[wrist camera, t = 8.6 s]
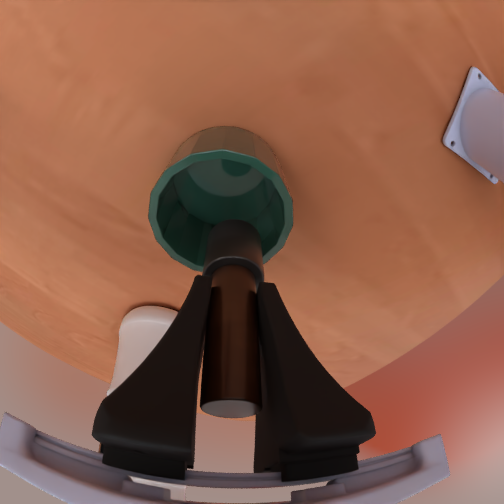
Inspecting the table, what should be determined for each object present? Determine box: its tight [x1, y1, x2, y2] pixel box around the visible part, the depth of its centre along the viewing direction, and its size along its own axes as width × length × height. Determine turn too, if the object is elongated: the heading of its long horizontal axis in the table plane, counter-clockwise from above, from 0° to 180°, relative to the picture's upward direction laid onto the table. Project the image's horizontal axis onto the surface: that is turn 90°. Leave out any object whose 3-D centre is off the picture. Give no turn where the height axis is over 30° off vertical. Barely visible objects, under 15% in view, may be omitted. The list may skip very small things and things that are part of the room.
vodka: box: [98, 306, 187, 501], centre depth 18 cm, size 9×9×30 cm
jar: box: [148, 126, 293, 272], centre depth 17 cm, size 8×8×6 cm
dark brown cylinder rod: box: [200, 219, 264, 418], centre depth 11 cm, size 3×3×9 cm
